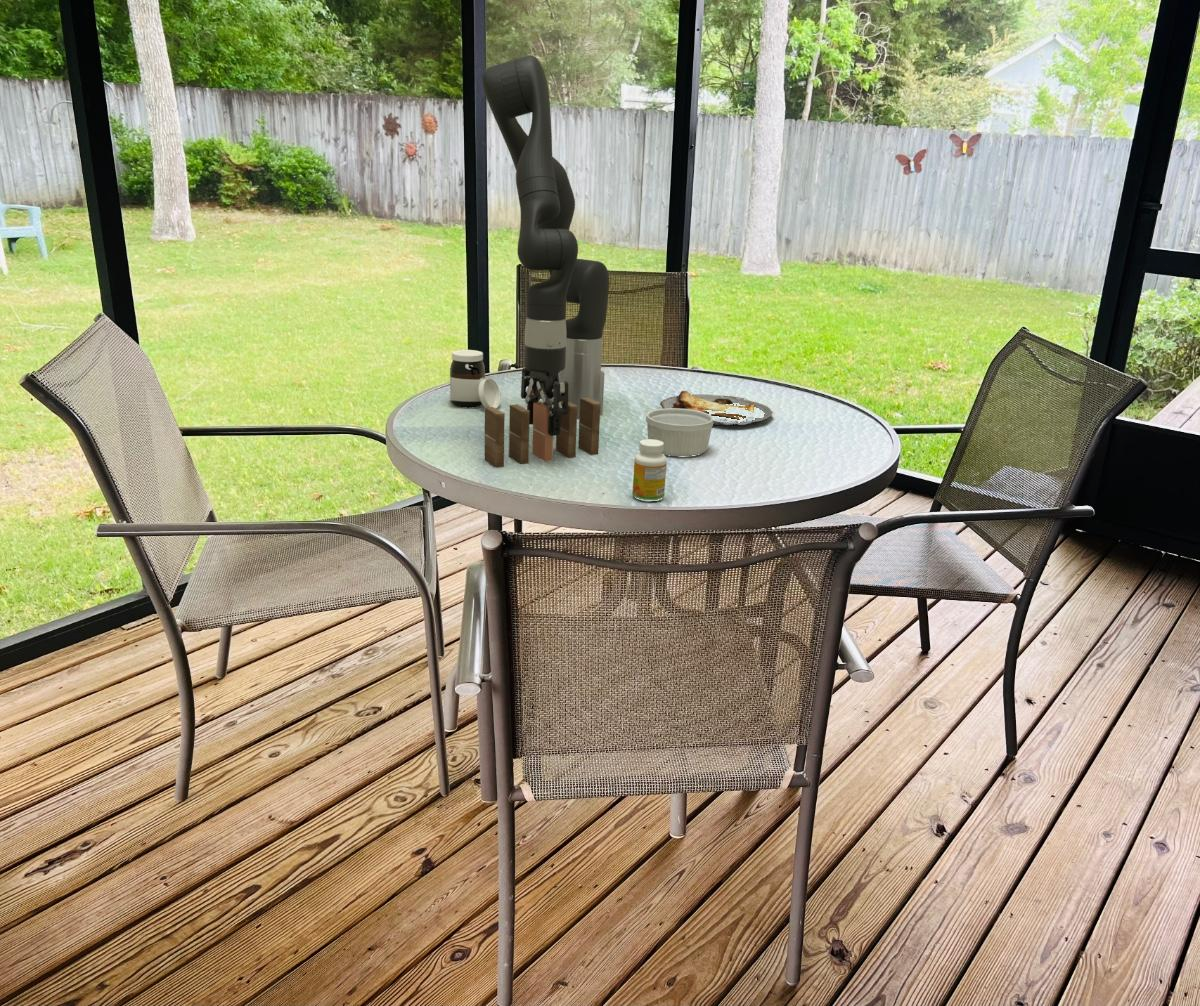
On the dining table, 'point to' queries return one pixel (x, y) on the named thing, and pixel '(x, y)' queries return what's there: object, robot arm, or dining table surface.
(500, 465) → the domino
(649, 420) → the ramekin
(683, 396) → the food plate
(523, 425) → the domino
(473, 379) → the spread jar
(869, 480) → the dining table surface
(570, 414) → the domino
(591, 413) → the domino
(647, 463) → the supplement bottle
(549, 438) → the domino
